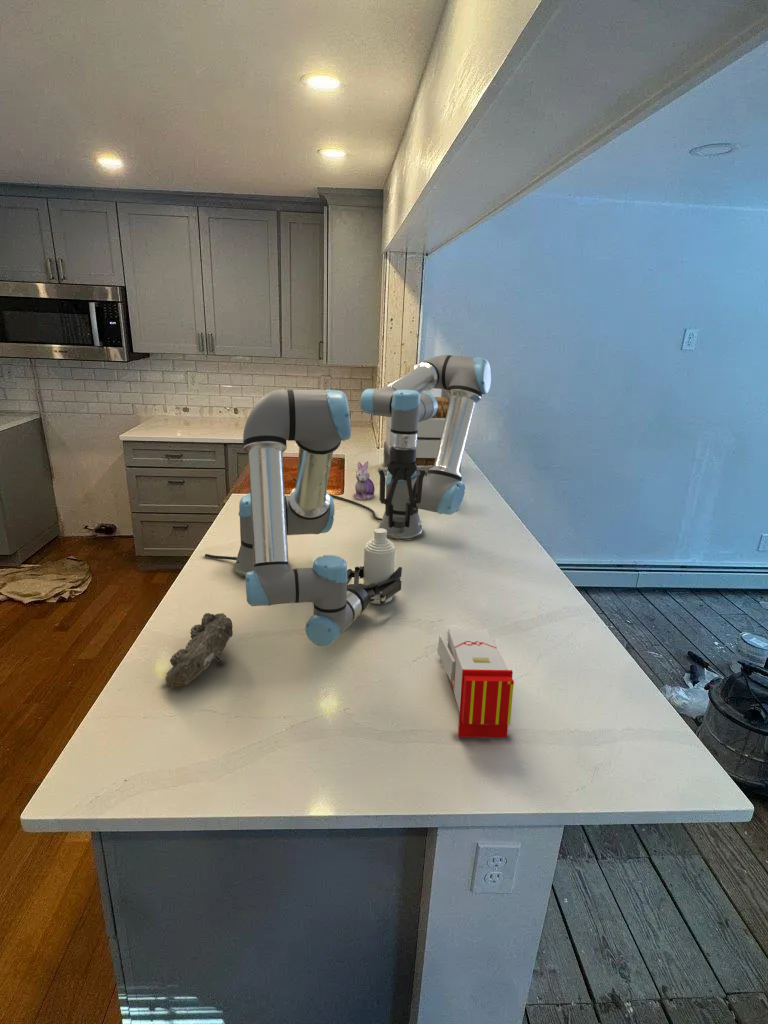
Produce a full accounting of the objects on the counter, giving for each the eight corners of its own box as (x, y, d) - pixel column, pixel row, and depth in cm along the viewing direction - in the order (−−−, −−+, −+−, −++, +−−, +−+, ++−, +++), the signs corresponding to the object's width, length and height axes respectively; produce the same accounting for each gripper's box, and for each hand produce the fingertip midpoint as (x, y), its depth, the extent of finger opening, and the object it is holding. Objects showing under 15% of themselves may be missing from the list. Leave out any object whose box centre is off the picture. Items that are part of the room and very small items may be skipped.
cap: (395, 528, 162) (395, 523, 161) (388, 523, 166) (388, 518, 165) (408, 527, 164) (409, 521, 163) (401, 522, 168) (401, 516, 167)
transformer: (382, 463, 289) (386, 382, 275) (445, 464, 293) (451, 384, 279) (390, 482, 257) (394, 392, 243) (460, 483, 261) (468, 394, 247)
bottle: (369, 587, 161) (371, 522, 154) (396, 593, 158) (400, 527, 152) (358, 600, 154) (360, 533, 147) (386, 606, 151) (390, 538, 144)
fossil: (188, 616, 134) (233, 586, 129) (216, 643, 137) (261, 615, 132) (144, 681, 114) (195, 649, 109) (178, 711, 117) (230, 682, 112)
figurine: (359, 501, 230) (360, 466, 225) (349, 494, 239) (349, 459, 234) (379, 499, 235) (381, 464, 230) (369, 491, 243) (370, 458, 238)
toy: (488, 613, 130) (523, 677, 101) (484, 667, 133) (517, 744, 104) (435, 612, 130) (455, 676, 101) (432, 666, 133) (451, 743, 103)
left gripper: (311, 607, 143) (351, 572, 163) (387, 627, 136) (420, 588, 155) (311, 580, 141) (351, 548, 160) (389, 599, 133) (421, 563, 153)
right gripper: (374, 450, 152) (370, 530, 160) (437, 450, 155) (430, 530, 163) (370, 443, 159) (367, 521, 167) (430, 444, 162) (424, 520, 170)
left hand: (385, 568), depth 158 cm, fingers closed on bottle, 8 cm apart
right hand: (398, 525), depth 165 cm, fingers closed on cap, 4 cm apart
